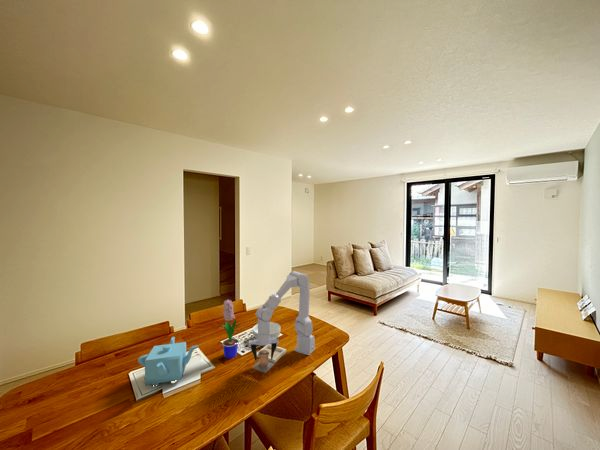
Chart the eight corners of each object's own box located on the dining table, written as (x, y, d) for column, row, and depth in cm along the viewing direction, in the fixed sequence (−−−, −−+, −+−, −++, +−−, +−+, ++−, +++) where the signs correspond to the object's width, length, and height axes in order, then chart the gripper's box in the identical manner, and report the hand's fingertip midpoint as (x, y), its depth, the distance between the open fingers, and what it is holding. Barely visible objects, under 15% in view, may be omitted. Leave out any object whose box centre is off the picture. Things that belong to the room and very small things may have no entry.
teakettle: (134, 383, 104) (134, 350, 103) (175, 360, 120) (174, 332, 120) (159, 399, 94) (159, 363, 94) (199, 372, 111) (199, 341, 110)
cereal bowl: (278, 346, 133) (278, 334, 133) (249, 346, 134) (249, 334, 133) (281, 332, 150) (281, 321, 150) (255, 331, 151) (255, 321, 150)
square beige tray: (286, 352, 127) (286, 349, 127) (274, 363, 118) (274, 360, 118) (268, 346, 133) (268, 343, 133) (255, 357, 123) (255, 353, 123)
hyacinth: (237, 361, 119) (236, 303, 118) (218, 359, 121) (218, 301, 120) (244, 352, 128) (244, 297, 127) (227, 350, 130) (226, 296, 129)
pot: (270, 361, 118) (270, 349, 118) (267, 368, 113) (267, 355, 113) (260, 360, 119) (260, 348, 119) (256, 367, 114) (256, 354, 114)
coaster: (275, 364, 117) (275, 363, 117) (265, 373, 110) (265, 372, 110) (262, 359, 121) (262, 358, 121) (252, 368, 114) (252, 367, 114)
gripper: (278, 327, 120) (278, 353, 120) (249, 328, 118) (249, 355, 118) (278, 333, 113) (278, 361, 113) (248, 335, 111) (248, 363, 111)
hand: (263, 358), depth 115 cm, fingers open, 7 cm apart
